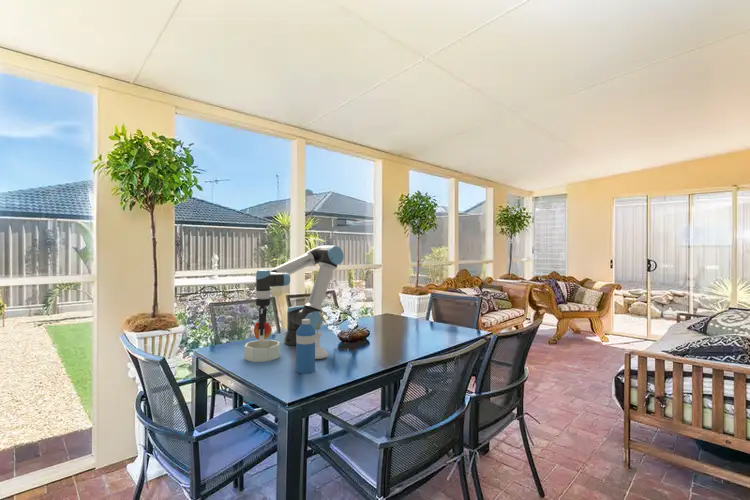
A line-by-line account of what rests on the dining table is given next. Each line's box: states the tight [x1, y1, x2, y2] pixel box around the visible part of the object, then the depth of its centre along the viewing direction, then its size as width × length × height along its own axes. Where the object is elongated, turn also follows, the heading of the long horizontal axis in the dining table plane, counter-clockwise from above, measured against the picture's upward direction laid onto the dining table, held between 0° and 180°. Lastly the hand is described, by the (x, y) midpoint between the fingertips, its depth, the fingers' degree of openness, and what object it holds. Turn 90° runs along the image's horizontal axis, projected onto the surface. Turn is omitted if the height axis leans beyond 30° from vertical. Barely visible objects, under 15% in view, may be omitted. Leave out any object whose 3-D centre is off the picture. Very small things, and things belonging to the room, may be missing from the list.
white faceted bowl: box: [243, 339, 281, 363], centre depth 207 cm, size 18×18×7 cm
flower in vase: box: [315, 311, 329, 360], centre depth 207 cm, size 13×11×25 cm
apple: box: [253, 321, 273, 340], centre depth 207 cm, size 10×10×10 cm
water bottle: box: [295, 319, 316, 375], centre depth 185 cm, size 9×9×25 cm
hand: (262, 339), depth 207 cm, fingers closed on apple, 9 cm apart
